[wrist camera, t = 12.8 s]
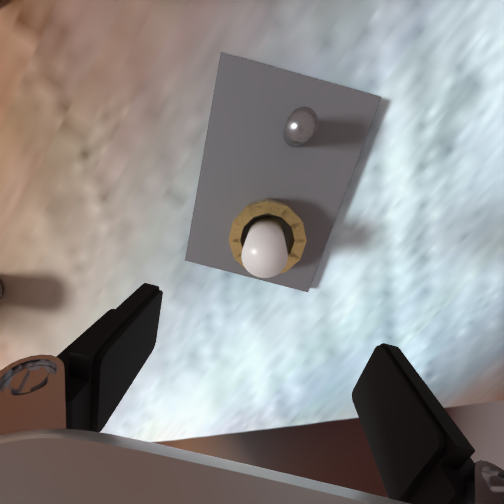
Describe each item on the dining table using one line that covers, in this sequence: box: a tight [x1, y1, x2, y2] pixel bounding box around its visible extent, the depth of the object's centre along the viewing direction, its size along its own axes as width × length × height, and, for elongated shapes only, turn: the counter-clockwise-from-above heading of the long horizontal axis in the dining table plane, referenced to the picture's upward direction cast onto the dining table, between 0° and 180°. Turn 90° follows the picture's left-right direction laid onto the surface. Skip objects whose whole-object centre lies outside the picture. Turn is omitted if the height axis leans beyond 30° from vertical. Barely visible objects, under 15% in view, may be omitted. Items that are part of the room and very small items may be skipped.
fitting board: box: [185, 52, 381, 292], centre depth 27 cm, size 22×16×1 cm
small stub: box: [283, 106, 318, 147], centre depth 22 cm, size 3×3×5 cm
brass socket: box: [229, 198, 307, 273], centre depth 27 cm, size 8×8×3 cm
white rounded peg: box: [241, 216, 288, 278], centre depth 24 cm, size 4×4×8 cm
